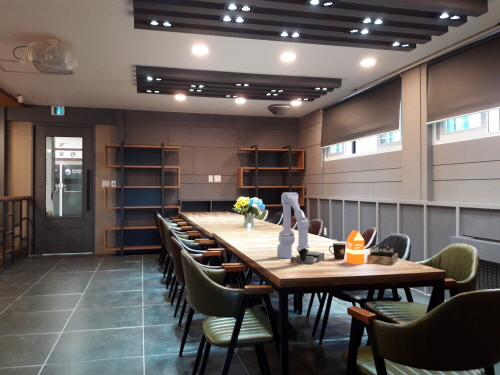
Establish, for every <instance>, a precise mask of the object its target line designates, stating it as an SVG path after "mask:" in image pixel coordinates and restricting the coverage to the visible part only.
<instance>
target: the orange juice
mask: <svg viewBox="0 0 500 375" xmlns="http://www.w3.org/2000/svg"><path fill="white" fill-rule="evenodd" d="M347 262H348V263H350V264H352V265H360V264H361V265H362V264H365V239H364V237H363V236H362V234H361V233H360V231H357V230H354V229H353V230H351V232H350V233H349V235H348V236H347V238H346V263H347Z"/></svg>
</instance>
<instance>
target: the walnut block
mask: <svg viewBox="0 0 500 375" xmlns="http://www.w3.org/2000/svg"><path fill="white" fill-rule="evenodd" d="M289 261H290V264H297V263H298V262H297V256H294V257H291V258H290V259H289Z"/></svg>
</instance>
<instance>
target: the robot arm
mask: <svg viewBox="0 0 500 375" xmlns="http://www.w3.org/2000/svg"><path fill="white" fill-rule="evenodd" d="M280 197H281V198H280V199H281V200H280V201H281V205H282V218H283V219H282V221H283V223H282V226H283V228H282V230H281V231H279V233H278V242H279V243H278V244H277V247H276V248H277V249H276V250H277V252H276V254H277V256H276V258H280V259H289V260H290V259H291V257H295V256H293V245H294V243H295V241H296V236H295V232H294V231H292V228H291V227H292V225H291V224H292V222H291V221H292V220H291V219H292V218H291V216H292V215H291V210H292V208H293V210H294V218H295V220H296V222H297V223H296V227H297V232H298V240H297V241H298V242H297V243H298V246H297V247H296V251H297V252H298V254H299V255H300V259H301V261H305V259H306V255H307V252H308V251H309V249H310V245H309V229H310V227H311V222H310V220H309V219H308V218H307V217H306V215H305V213H304V211H303V210H302V209H301V208H300V205H299V194H298V192H286V191H285V192H282V194H281V196H280Z"/></svg>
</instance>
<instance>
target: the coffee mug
mask: <svg viewBox="0 0 500 375" xmlns="http://www.w3.org/2000/svg"><path fill="white" fill-rule="evenodd" d="M331 247H332V249H333V252H332V250H331ZM346 250H347V243H344V242H332V245H330V246H329V247H328V251H329V252H330V253H331V254H332V255H333V258H334V259H335V260H339V261H340V260H345V256H346Z"/></svg>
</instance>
